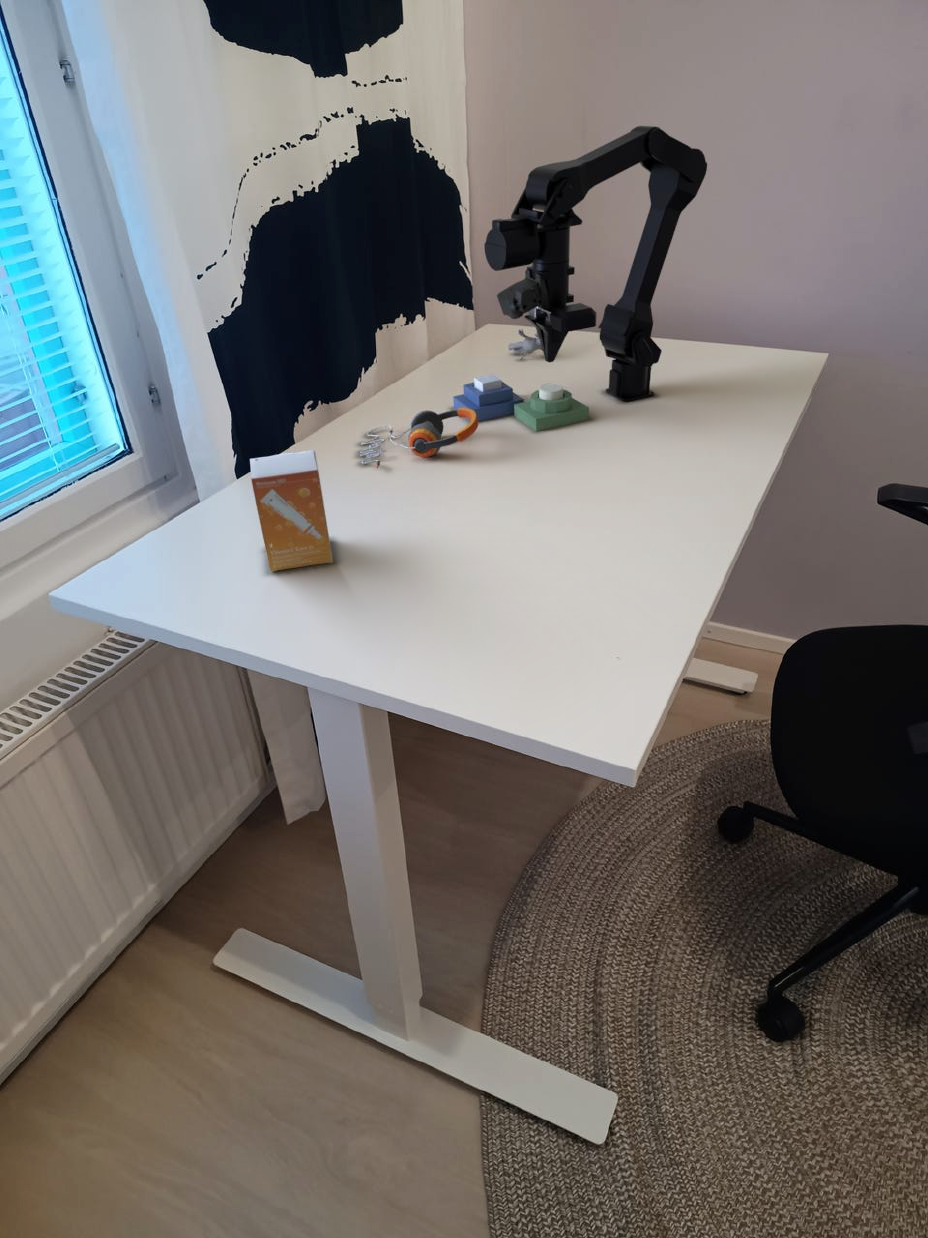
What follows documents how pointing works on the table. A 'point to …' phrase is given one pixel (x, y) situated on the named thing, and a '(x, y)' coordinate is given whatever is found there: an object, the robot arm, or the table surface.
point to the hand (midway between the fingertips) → (549, 361)
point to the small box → (291, 510)
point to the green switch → (550, 411)
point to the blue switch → (488, 401)
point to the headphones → (427, 433)
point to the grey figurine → (526, 344)
